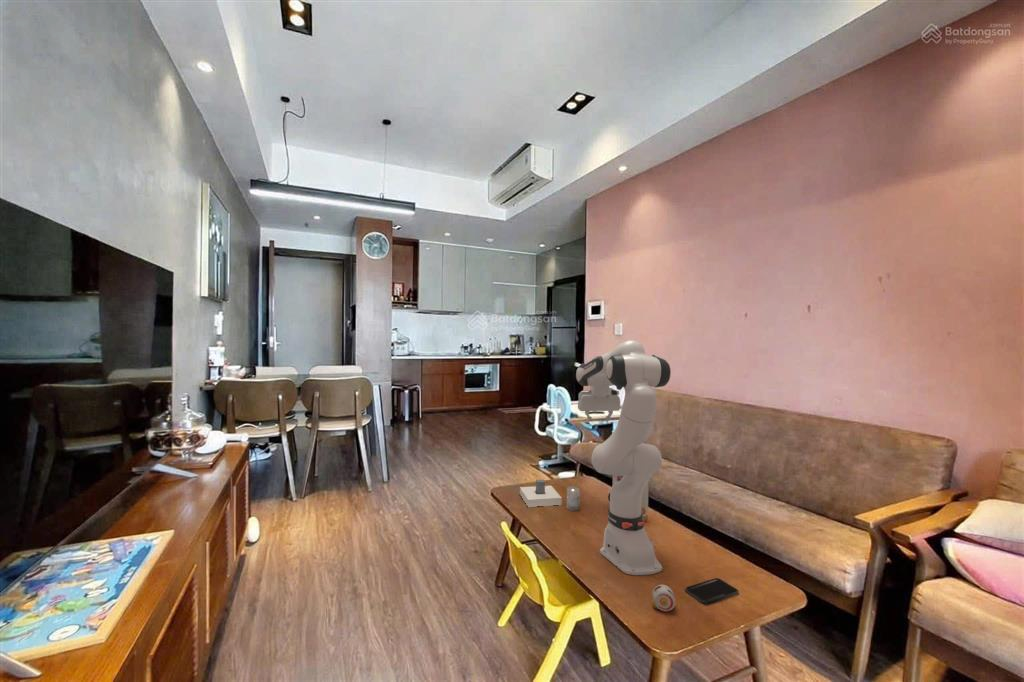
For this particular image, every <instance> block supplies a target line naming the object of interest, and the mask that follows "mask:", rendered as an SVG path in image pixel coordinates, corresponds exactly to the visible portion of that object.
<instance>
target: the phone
mask: <svg viewBox="0 0 1024 682" xmlns="http://www.w3.org/2000/svg"><path fill="white" fill-rule="evenodd" d="M684 589H685V593H686V594H688V595H689V596H690V597H692V598H693V599H695V600H696V601H697V602H699V603H700V604H702V605H704V606H708V605H711V604H714V603H717V602H720V601H723V600H726V599H730V598H732V597H735V596H738V595H739V590H738V589H737V588H736V587H734V586H732V585H730V584H729V583H728V582H726V581H724V580H723V579H721V578H718V577H715V578H712V579H708V580H705V581H703V582H699V583H696V584H692V585H689V586H686V587H685V588H684Z"/></svg>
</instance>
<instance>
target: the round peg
mask: <svg viewBox="0 0 1024 682" xmlns="http://www.w3.org/2000/svg"><path fill="white" fill-rule="evenodd" d="M566 509H567V510H568V509H569V510H568V511H570V510H572V511H571V512H577V511H579V510H580V488H579V487H578V486H573V485H572V486H567V487H566ZM576 510H577V511H576Z"/></svg>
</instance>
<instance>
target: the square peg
mask: <svg viewBox="0 0 1024 682" xmlns="http://www.w3.org/2000/svg"><path fill="white" fill-rule="evenodd" d="M535 486H536V494H545V486H546V481H545V480H544V479H536V480H535Z"/></svg>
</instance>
